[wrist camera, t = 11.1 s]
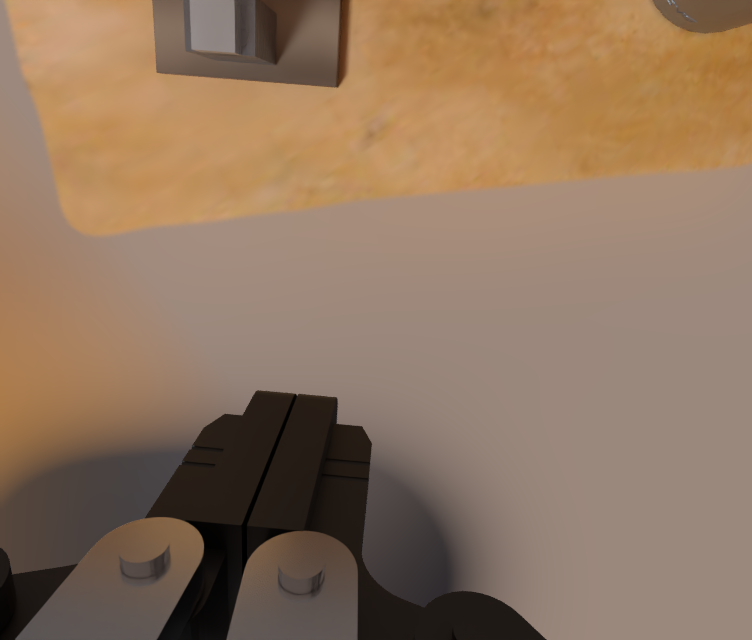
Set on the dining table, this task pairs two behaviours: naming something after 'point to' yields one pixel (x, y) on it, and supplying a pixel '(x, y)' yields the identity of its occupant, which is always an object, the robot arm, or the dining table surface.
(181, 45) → the board
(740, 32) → the dining table surface
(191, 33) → the rectangular bar
